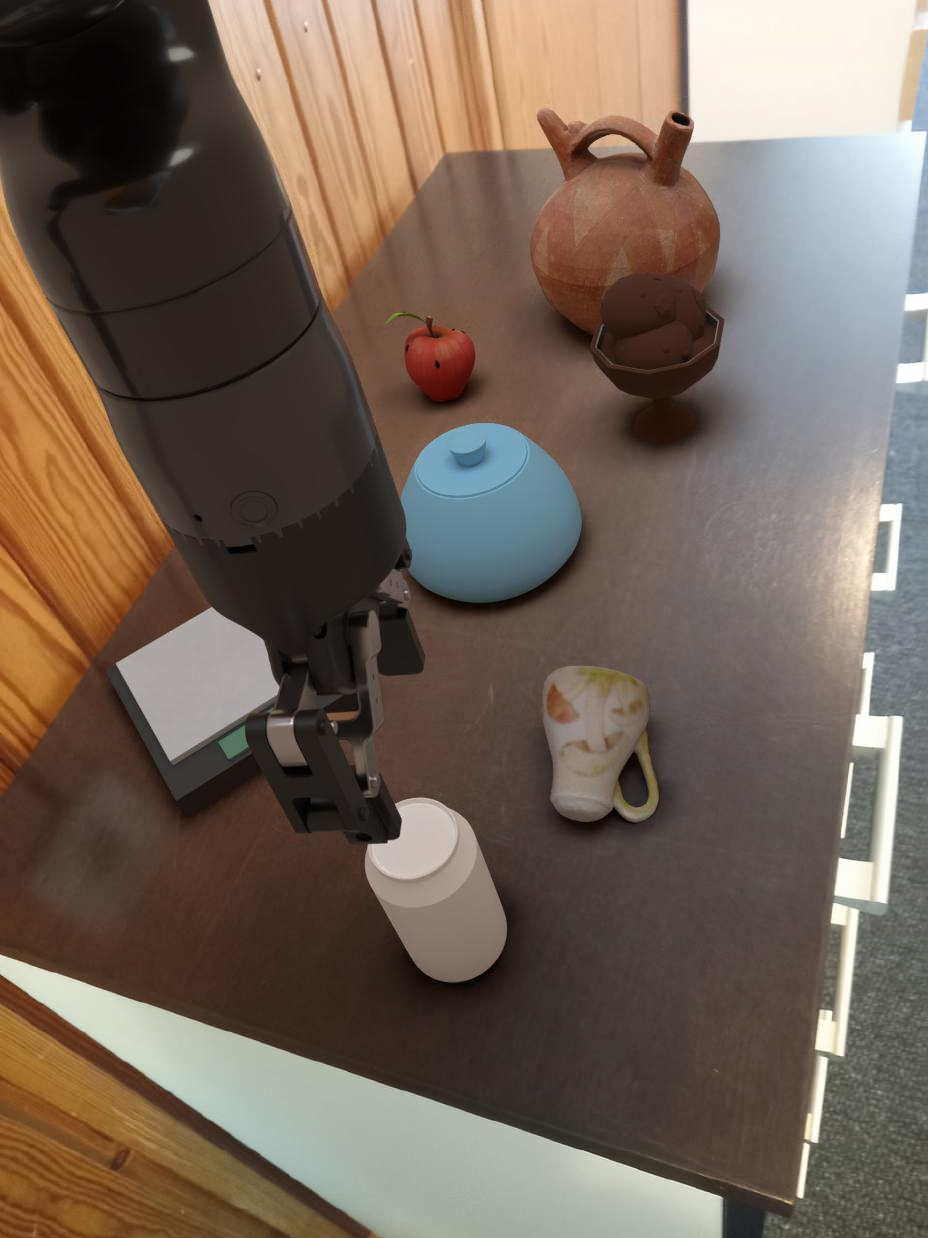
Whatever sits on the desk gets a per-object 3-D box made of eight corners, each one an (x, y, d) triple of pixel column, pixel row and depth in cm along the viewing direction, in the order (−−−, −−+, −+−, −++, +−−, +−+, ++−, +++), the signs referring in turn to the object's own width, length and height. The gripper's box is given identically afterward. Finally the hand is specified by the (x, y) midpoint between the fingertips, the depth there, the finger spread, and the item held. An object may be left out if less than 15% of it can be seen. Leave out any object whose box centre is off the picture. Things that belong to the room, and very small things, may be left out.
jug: (508, 346, 106) (468, 153, 91) (593, 255, 114) (568, 66, 100) (673, 376, 96) (657, 166, 82) (752, 274, 105) (749, 69, 91)
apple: (458, 364, 105) (435, 275, 98) (496, 389, 101) (475, 298, 94) (396, 399, 103) (368, 312, 96) (432, 427, 99) (406, 337, 92)
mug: (529, 842, 66) (493, 701, 64) (586, 771, 74) (555, 643, 72) (638, 847, 63) (604, 696, 60) (685, 771, 70) (657, 635, 68)
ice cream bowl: (697, 475, 86) (688, 319, 76) (581, 449, 92) (557, 299, 81) (748, 401, 92) (746, 244, 81) (635, 380, 97) (618, 231, 86)
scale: (189, 819, 73) (171, 796, 71) (118, 689, 84) (101, 665, 82) (367, 705, 77) (355, 680, 75) (277, 594, 87) (265, 569, 85)
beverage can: (514, 892, 64) (476, 785, 56) (505, 990, 60) (462, 891, 51) (418, 892, 66) (366, 787, 57) (403, 987, 61) (345, 890, 53)
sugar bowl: (443, 643, 80) (406, 534, 71) (384, 532, 90) (345, 426, 82) (617, 566, 81) (600, 451, 73) (539, 466, 92) (516, 355, 83)
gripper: (207, 342, 38) (336, 630, 50) (79, 627, 29) (275, 901, 40) (401, 313, 37) (488, 618, 48) (333, 605, 27) (461, 897, 39)
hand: (391, 746), depth 44 cm, fingers open, 8 cm apart
